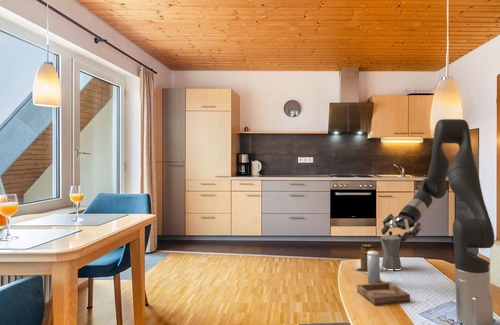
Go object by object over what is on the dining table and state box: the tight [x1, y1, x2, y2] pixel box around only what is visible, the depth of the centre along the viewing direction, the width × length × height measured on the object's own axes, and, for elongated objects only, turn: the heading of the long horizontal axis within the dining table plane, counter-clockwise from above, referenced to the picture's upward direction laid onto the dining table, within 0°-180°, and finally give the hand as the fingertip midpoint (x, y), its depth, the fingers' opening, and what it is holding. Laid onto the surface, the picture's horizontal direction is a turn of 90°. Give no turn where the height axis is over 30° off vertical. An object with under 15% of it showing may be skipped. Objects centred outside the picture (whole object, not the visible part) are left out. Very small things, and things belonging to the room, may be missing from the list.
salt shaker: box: [367, 250, 381, 284], centre depth 156 cm, size 5×5×13 cm
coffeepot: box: [380, 230, 403, 270], centre depth 176 cm, size 15×9×18 cm, turn 125°
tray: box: [356, 282, 411, 307], centre depth 139 cm, size 14×14×3 cm
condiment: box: [354, 243, 374, 275], centre depth 173 cm, size 7×8×12 cm
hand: (391, 236), depth 146 cm, fingers open, 8 cm apart
